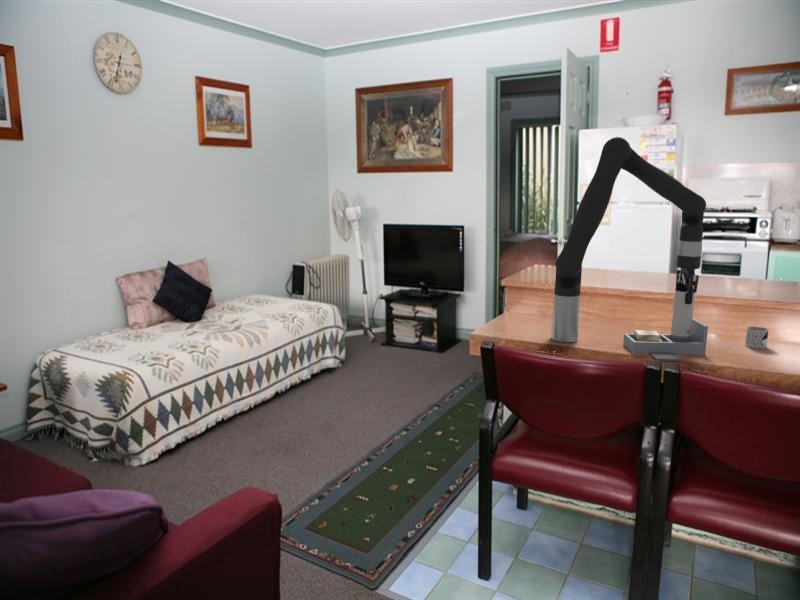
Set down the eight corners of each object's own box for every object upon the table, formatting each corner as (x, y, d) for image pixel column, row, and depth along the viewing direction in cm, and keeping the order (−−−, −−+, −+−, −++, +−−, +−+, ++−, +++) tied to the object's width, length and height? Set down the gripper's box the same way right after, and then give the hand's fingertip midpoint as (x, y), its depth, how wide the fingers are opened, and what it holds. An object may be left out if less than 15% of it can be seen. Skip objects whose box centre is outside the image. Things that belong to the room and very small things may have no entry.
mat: (656, 361, 200) (656, 358, 199) (648, 354, 207) (648, 352, 207) (681, 361, 199) (681, 359, 199) (672, 354, 207) (673, 352, 207)
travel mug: (693, 340, 209) (699, 283, 205) (672, 339, 210) (678, 282, 206) (688, 335, 215) (694, 280, 211) (668, 334, 216) (674, 279, 212)
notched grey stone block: (766, 350, 213) (768, 331, 211) (744, 347, 216) (746, 329, 215) (766, 343, 221) (768, 326, 220) (745, 341, 224) (747, 323, 223)
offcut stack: (636, 351, 212) (638, 334, 211) (633, 346, 219) (634, 330, 218) (661, 352, 210) (662, 335, 209) (657, 347, 217) (658, 330, 216)
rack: (632, 353, 209) (634, 325, 207) (623, 344, 221) (625, 317, 219) (705, 354, 207) (708, 326, 205) (691, 345, 219) (694, 318, 217)
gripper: (670, 251, 214) (666, 298, 217) (685, 256, 200) (680, 306, 203) (692, 251, 213) (687, 298, 217) (709, 256, 199) (704, 306, 203)
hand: (684, 302), depth 210 cm, fingers closed on travel mug, 6 cm apart
